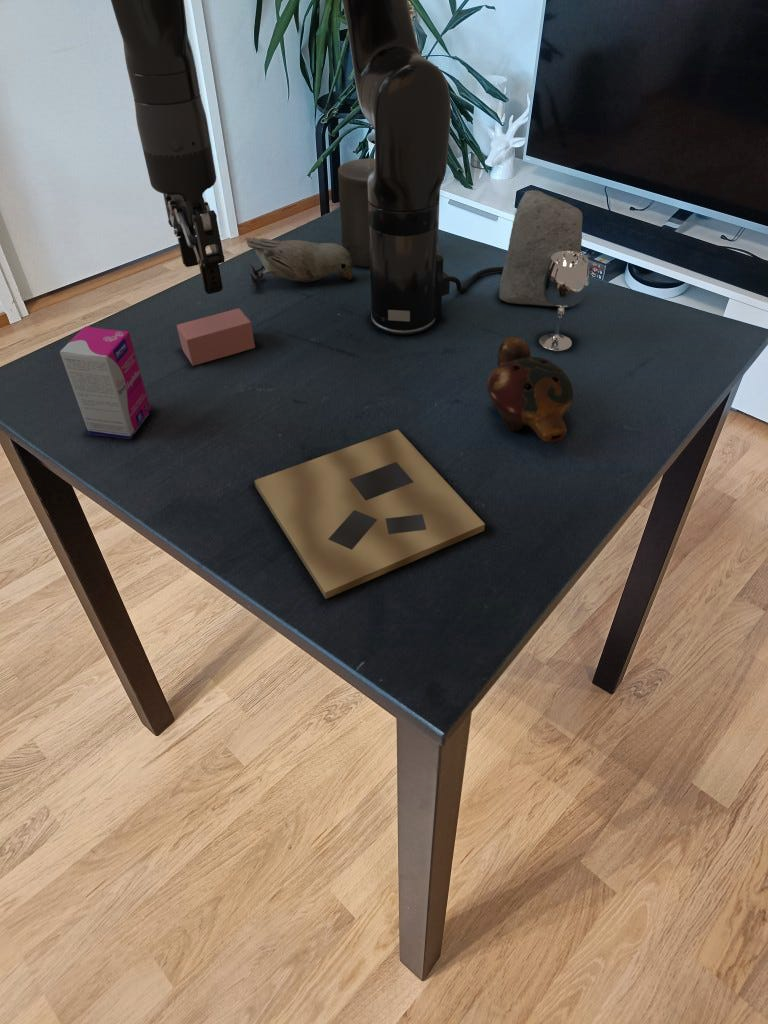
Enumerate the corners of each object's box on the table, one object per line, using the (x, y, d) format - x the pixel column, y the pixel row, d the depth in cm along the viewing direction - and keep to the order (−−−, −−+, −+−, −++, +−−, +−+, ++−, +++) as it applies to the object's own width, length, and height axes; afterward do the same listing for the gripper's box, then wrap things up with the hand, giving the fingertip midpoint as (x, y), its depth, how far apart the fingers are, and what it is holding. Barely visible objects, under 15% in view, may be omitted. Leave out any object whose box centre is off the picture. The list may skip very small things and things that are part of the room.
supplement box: (133, 440, 84) (105, 357, 76) (87, 434, 85) (55, 351, 77) (154, 411, 88) (129, 329, 80) (110, 406, 89) (81, 324, 81)
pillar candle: (337, 266, 116) (330, 169, 105) (349, 240, 123) (344, 147, 112) (396, 270, 114) (395, 172, 104) (405, 243, 121) (405, 149, 111)
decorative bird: (354, 287, 110) (351, 240, 105) (250, 293, 110) (242, 246, 104) (352, 272, 114) (350, 225, 109) (252, 277, 113) (244, 230, 108)
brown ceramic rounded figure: (527, 376, 92) (540, 322, 86) (590, 451, 83) (610, 397, 77) (460, 389, 90) (469, 335, 84) (517, 469, 80) (532, 414, 74)
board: (397, 435, 84) (397, 428, 83) (484, 530, 73) (485, 524, 72) (255, 487, 78) (254, 480, 77) (325, 599, 67) (324, 592, 66)
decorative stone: (575, 295, 107) (593, 193, 97) (569, 314, 103) (587, 210, 93) (504, 285, 110) (514, 185, 100) (495, 303, 106) (505, 201, 96)
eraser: (243, 333, 101) (239, 307, 99) (255, 347, 98) (251, 322, 96) (182, 350, 98) (176, 324, 96) (192, 366, 96) (186, 340, 93)
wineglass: (529, 348, 97) (541, 265, 89) (539, 328, 101) (552, 246, 92) (572, 356, 95) (588, 272, 87) (580, 335, 99) (596, 252, 91)
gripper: (229, 154, 76) (250, 294, 88) (188, 119, 85) (212, 250, 97) (161, 166, 74) (191, 309, 85) (126, 129, 83) (158, 262, 94)
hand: (202, 277), depth 91 cm, fingers open, 8 cm apart
